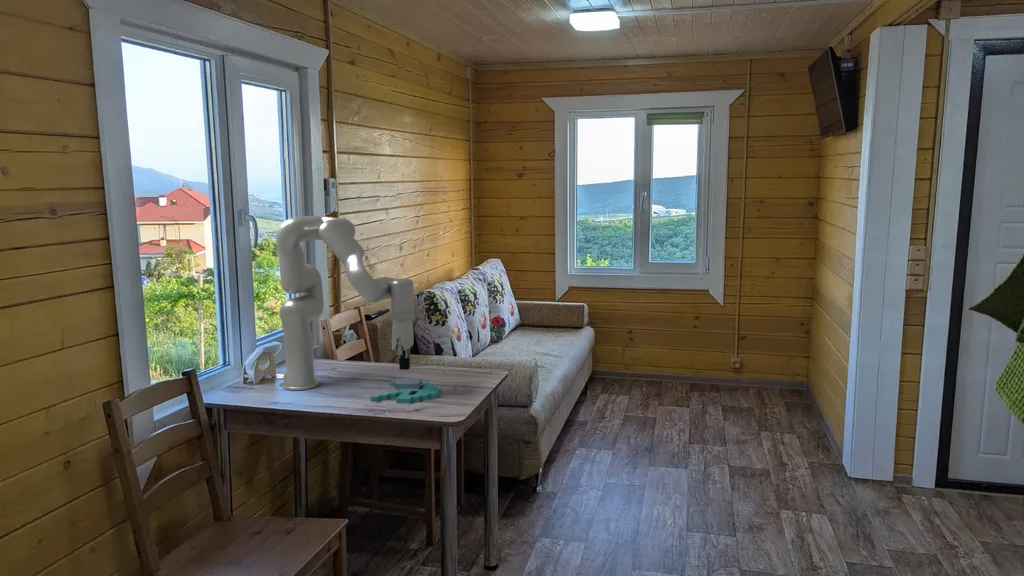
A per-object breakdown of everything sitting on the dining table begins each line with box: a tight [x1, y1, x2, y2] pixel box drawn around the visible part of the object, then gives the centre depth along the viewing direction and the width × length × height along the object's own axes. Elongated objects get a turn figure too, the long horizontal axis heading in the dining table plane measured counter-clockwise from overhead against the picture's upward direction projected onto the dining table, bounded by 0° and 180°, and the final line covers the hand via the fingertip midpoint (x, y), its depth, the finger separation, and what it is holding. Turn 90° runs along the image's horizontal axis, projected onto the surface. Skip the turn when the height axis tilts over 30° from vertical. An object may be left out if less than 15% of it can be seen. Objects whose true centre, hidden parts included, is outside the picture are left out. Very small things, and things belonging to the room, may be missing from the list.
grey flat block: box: [394, 377, 423, 390], centre depth 239 cm, size 7×2×8 cm
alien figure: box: [370, 379, 442, 405], centre depth 235 cm, size 20×2×20 cm
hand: (404, 369), depth 235 cm, fingers closed
